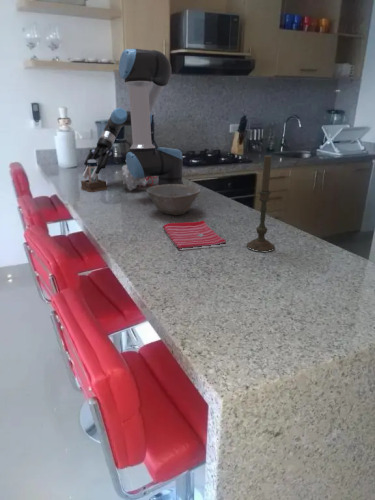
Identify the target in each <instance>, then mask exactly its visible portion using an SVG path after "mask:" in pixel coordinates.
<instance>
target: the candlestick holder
mask: <svg viewBox="0 0 375 500" xmlns="http://www.w3.org/2000/svg"><path fill="white" fill-rule="evenodd" d="M262 168H263V169H262V181H261V189H260V190H258V194H259V197H258V200H259V201H260V202H261V204H260V208H259V210H260V218H259V221H260V223H259V225H258V226H257V227H256V228H255V229H256V233H257V234H258V236H257V238H255V239H252V240H251V241H248V242H247V243H246V245H247V246H246V248H247V247H249V248H251V249H254V250H258V251H269V250H272V249H274V248H275V249H276V247H275V244H273V243H272V242H270V241H269V240H268V239H266V238H265V235H266V234H267V231H268V228H267V227H266V224H265V221H266V214H267V211H268V208H267V207H268V205H267V202H269V201H270V198H271V197H270V195H271V194H272V191H271V190H270V181H271V180H270V178H271V168H272V155H264V157H263V167H262ZM275 249H274V250H275ZM272 251H273V250H272Z"/></svg>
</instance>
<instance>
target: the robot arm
mask: <svg viewBox="0 0 375 500" xmlns="http://www.w3.org/2000/svg"><path fill="white" fill-rule="evenodd" d="M118 74H119V77H120V78H121V79H123V80H124V84H125V86H126V87H127V88H128V96H129V109H130V110H125V109H124V108H122V107H116V108H115V109H113V111H112V112H111V114H110V116H109V118H108V120H107V122H106V124H105V126H104V129H103V131H102V132H101V135H100V136H99V138H98V140H97V143H96V147H95V148H94V149H92V148H90V149H89V153H88V155H87V157H86V158H85V161H84V163H83V164H84V166H85V169H84V172H83V173H82V177H83V178H84V179H85V180H87V178H89V176H88V165H87V162H88V160H92V159H93V160H96V161H97V160H98V161H97V166H96V167H95V169H94V171H93V173H92V175H91V178H92V179H93V180H95V178H96V176H97V174H98V175H99V174H100V172H101V170H102V169H106V167H107V164H108V162H109V161H110V158H111V156H112V155H113V152H112V151H111V150H112V147H113V144H114V143H115V140H116V138H117V137H118V134H119V133H120V131H121V130H122V129H121V128H123V127H131V137H132V144H131V146H130V147H129V152H127V153H126V155H125V160H126V162H125V163H126V164H127V167H128V170H129V172H130V174H131V175H132V176H133V177H135V178H139V177H141V178H144V177H146V178H148V177H149V178H150V177H153V176H154V177H157V176H158V177H157V179H158V181H157V184H156V185H164V184H166V185H167V184H171V185H172V184H182V185H184V182H183V181H184V180H183V152H182V150H180V149H178V148H173V147H172V148H171V147H164V146H162V147H161V146H159V147H157V150H156V146H155V145H154V144H153V143H152V131H151V130H152V129H151V128H152V127H151V124H152V121H153V115H152V111H153V109H154V107H155V105H156V103H157V101H158V100H159V97H160V95H161V93H162V91H163V89H164V87H166V86H167V85H168V84H169V82H170V79H171V77H172V65H171V63H170V60H169V58H168V57H167V56H166V54H164V53H163V52H161V51H159V50H155V49H153V50H150V49H141V48H125V49H124V50H122V53H121V54H120V58H119V63H118Z"/></svg>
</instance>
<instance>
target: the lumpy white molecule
mask: <svg viewBox="0 0 375 500" xmlns="http://www.w3.org/2000/svg"><path fill="white" fill-rule="evenodd" d="M125 163H126V159H125ZM121 176H122V177H121V178H122V181H123V182H122V184H123V185H126V187H127V190H129V192H131V191H134V190H135V189H137V186H140V187H146V186H147V185H148V186H149V187H152V186H153V184H154V180H153V179H158V176H151V177H144V178H141V177H139V178H135V177H133V176H132V175H131V174H130V172H129V170H128V167H127V163H126V164H124V165H123V166H122V167H121ZM149 179H151V180H150V181H149ZM150 182H152V183H151V184H148V183H150Z"/></svg>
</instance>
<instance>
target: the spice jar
mask: <svg viewBox="0 0 375 500" xmlns="http://www.w3.org/2000/svg"><path fill="white" fill-rule="evenodd" d="M87 165H88V180H89V183H95V182H98V179H99V174H97V176H96V178H95V180H93V179H92V178H91V175H92V173H93V171H94V169H95V167H96V166H97V167H98V161H97V160H93V159H92V160H88V162H87Z"/></svg>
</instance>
